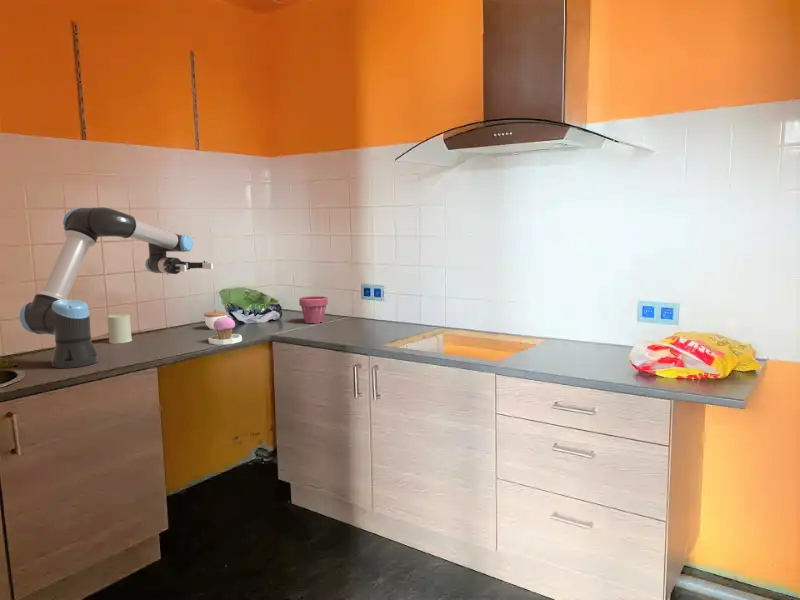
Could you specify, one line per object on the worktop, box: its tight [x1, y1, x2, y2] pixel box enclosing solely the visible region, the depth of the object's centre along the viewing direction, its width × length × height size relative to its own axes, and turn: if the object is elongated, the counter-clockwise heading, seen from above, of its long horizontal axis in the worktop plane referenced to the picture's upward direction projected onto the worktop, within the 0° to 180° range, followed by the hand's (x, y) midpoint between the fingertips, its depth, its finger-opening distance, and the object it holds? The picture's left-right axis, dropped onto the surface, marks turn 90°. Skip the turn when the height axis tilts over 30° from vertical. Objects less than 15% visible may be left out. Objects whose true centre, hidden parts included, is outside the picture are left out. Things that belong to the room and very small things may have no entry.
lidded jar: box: [203, 309, 228, 331], centre depth 292 cm, size 11×11×9 cm
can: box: [106, 313, 133, 345], centre depth 263 cm, size 9×9×12 cm
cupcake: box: [214, 316, 236, 340], centre depth 260 cm, size 9×9×10 cm
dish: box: [208, 333, 243, 346], centre depth 260 cm, size 14×14×2 cm
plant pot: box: [298, 295, 329, 324], centre depth 305 cm, size 14×14×13 cm
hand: (199, 267), depth 262 cm, fingers open, 13 cm apart
